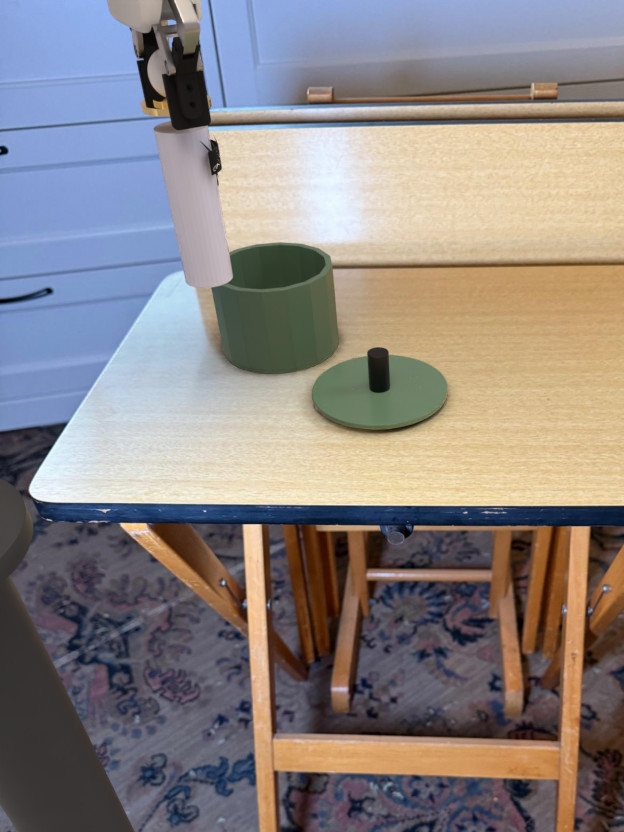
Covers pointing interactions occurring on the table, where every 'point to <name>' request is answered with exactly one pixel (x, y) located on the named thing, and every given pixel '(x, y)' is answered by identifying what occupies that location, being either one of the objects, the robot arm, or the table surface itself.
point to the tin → (278, 308)
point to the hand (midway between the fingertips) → (178, 116)
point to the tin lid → (379, 391)
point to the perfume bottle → (191, 189)
